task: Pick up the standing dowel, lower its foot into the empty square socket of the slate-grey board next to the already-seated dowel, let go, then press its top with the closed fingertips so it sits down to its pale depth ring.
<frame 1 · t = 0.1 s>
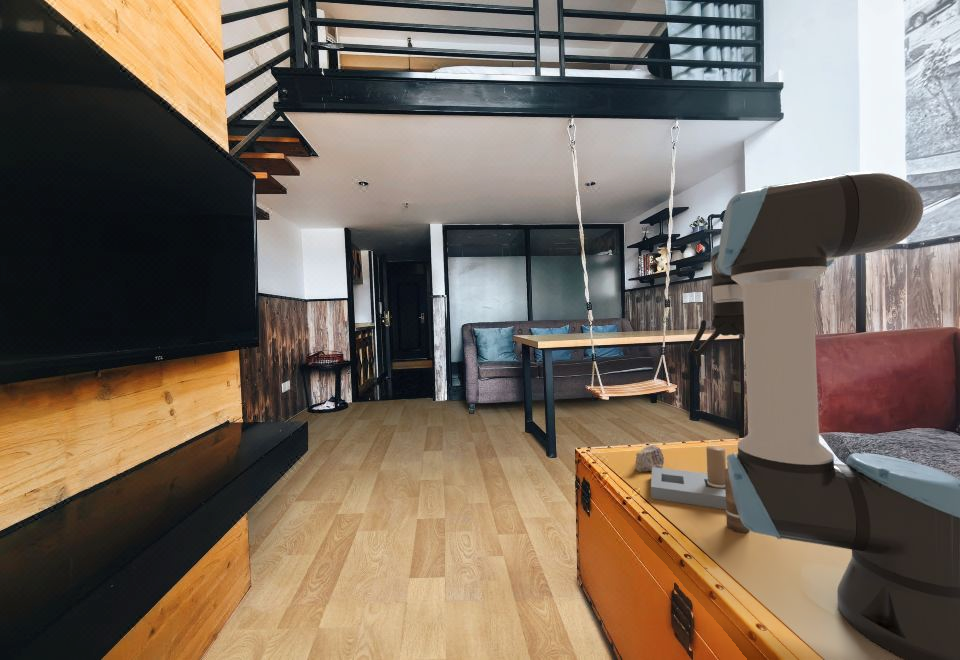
hand: (731, 379, 102), 28 cm above the table, fingers open, 13 cm apart
mineral specimen: (649, 468, 114), on the table
board: (694, 493, 96), on the table
dowel: (737, 527, 80), on the table
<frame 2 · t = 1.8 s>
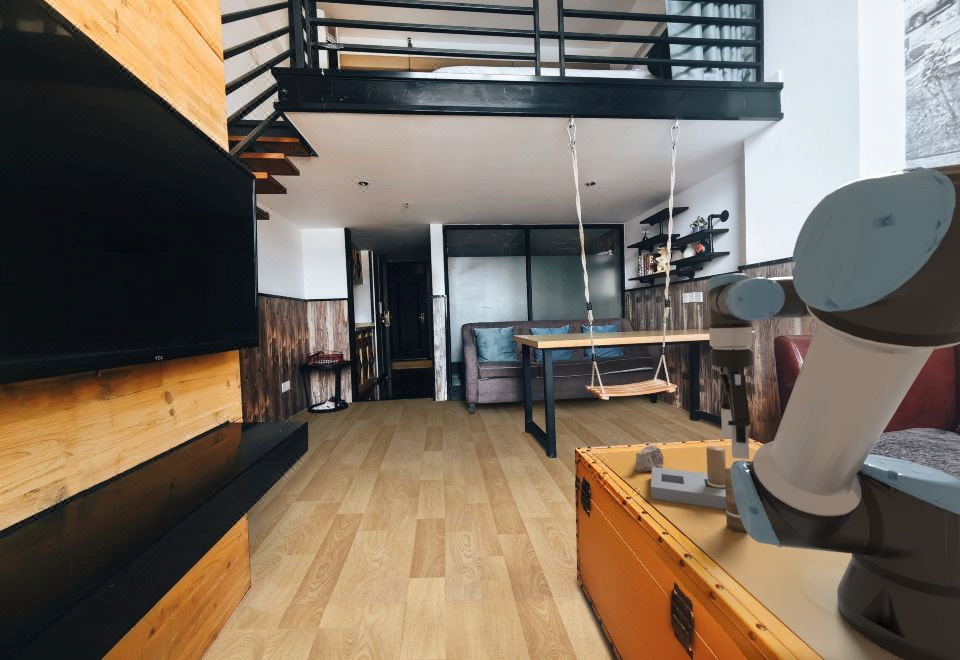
hand: (734, 447, 80), 17 cm above the table, fingers open, 13 cm apart
nothing on the table moved.
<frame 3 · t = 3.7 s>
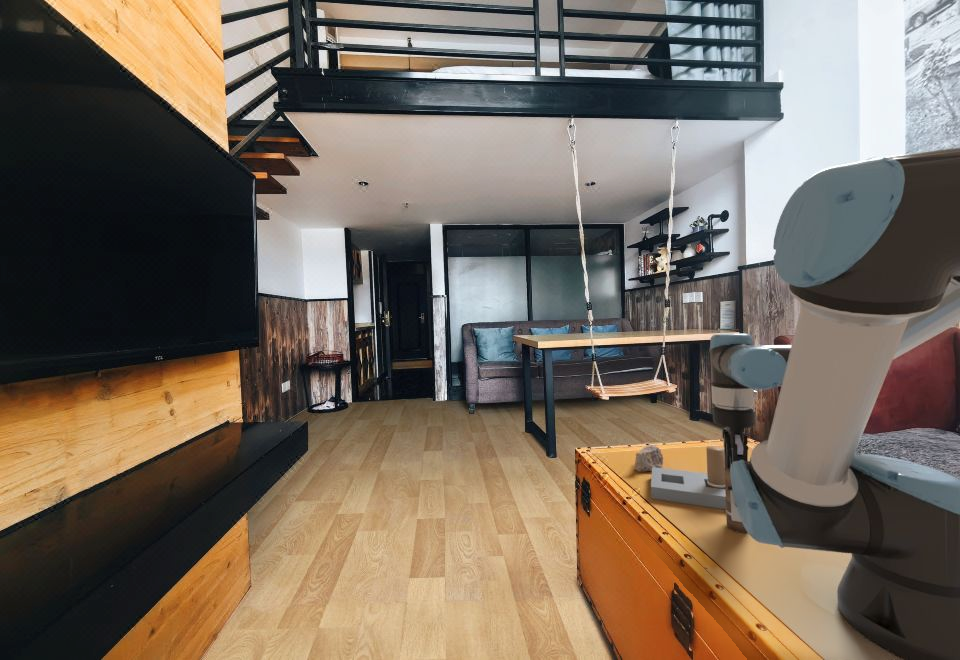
hand: (737, 515, 80), 3 cm above the table, fingers closed on dowel, 4 cm apart
dowel: (737, 527, 80), on the table, touching gripper
everything else where it was.
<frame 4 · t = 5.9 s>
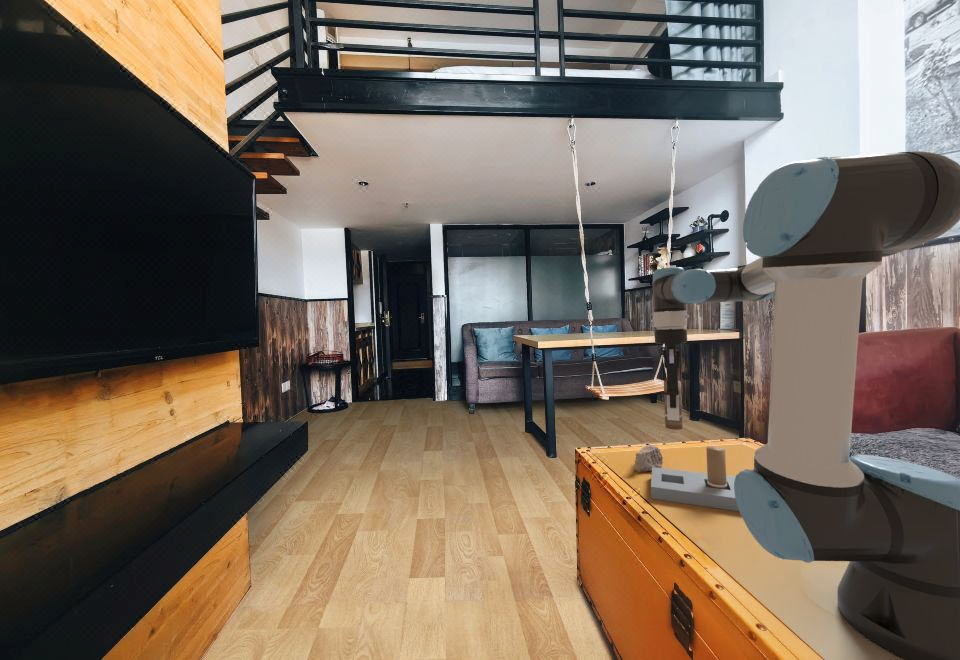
hand: (673, 417, 97), 19 cm above the table, fingers closed on dowel, 4 cm apart
dowel: (673, 427, 97), point 17 cm above the table, touching gripper
everything else where it was.
when the fingers open (4 cm above the table, at t = 8.4 s): dowel drops 2 cm, resting in board.
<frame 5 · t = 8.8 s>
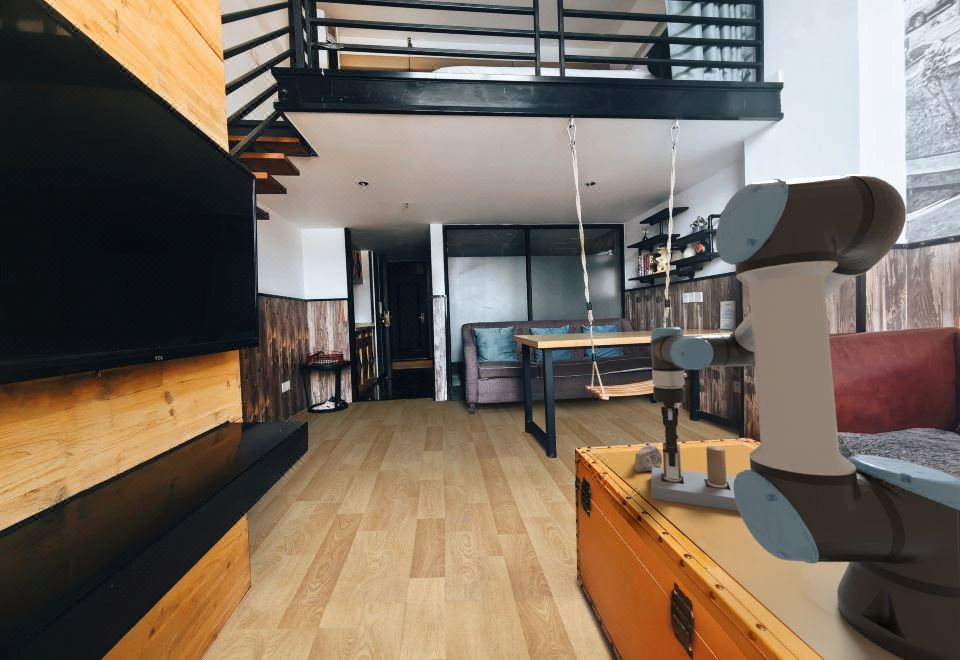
hand: (672, 470, 98), 5 cm above the table, fingers open, 10 cm apart
dowel: (673, 490, 98), resting in board
everything else where it was.
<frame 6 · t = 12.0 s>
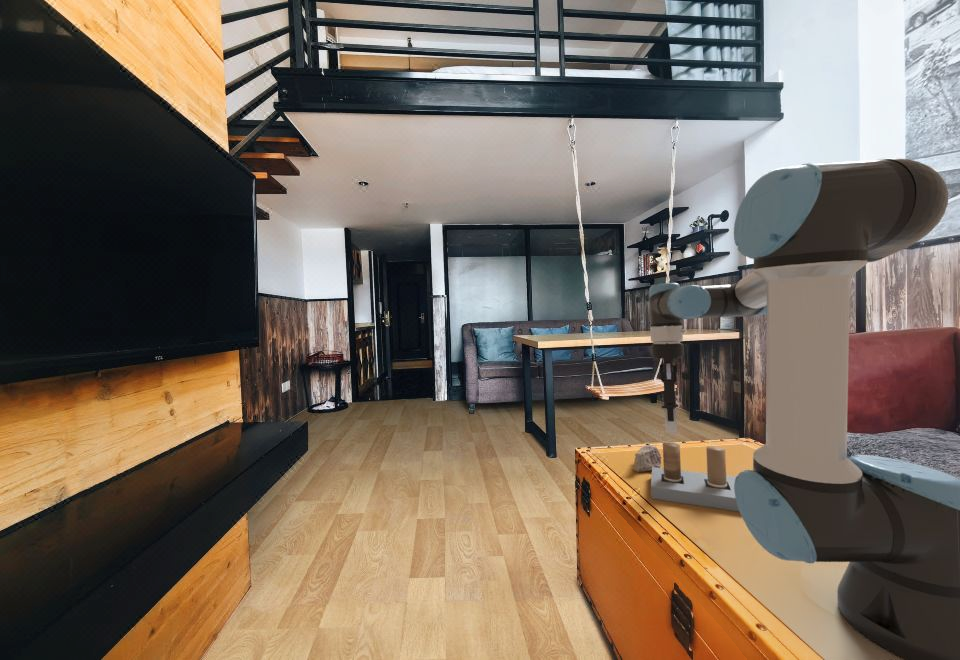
hand: (671, 432, 98), 15 cm above the table, fingers closed
nothing on the table moved.
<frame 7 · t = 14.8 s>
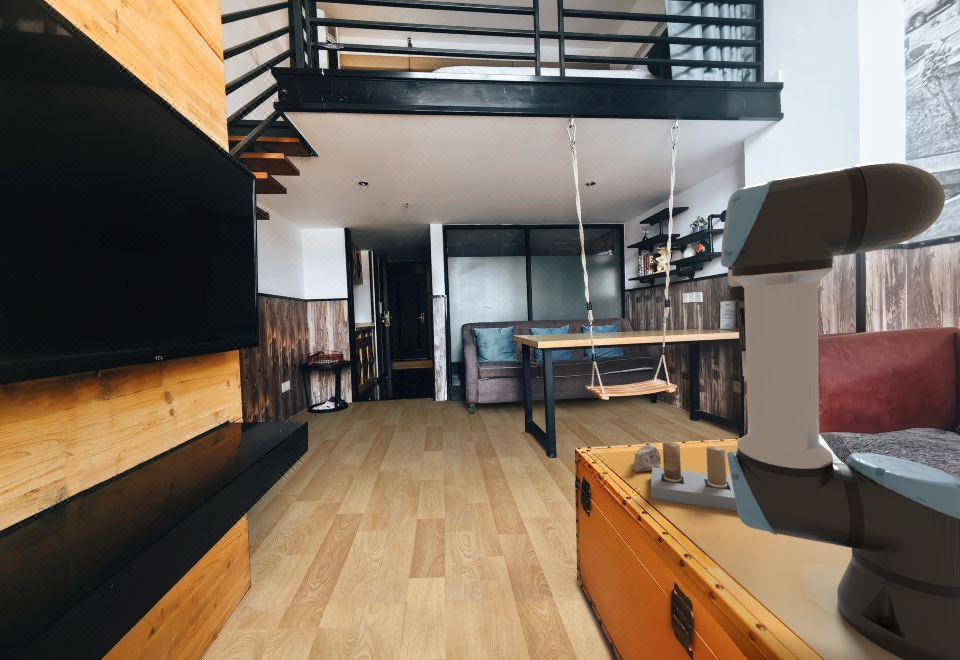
hand: (749, 376, 97), 29 cm above the table, fingers closed
nothing on the table moved.
at the end: dowel 0.0 cm from the target spot on the board, point 0.0 cm above the board's base; dowel tilted 0°; the gripper is holding nothing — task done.
